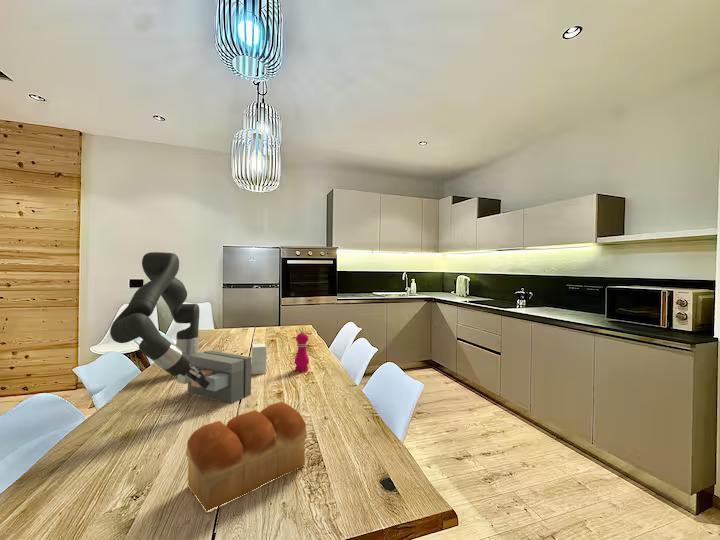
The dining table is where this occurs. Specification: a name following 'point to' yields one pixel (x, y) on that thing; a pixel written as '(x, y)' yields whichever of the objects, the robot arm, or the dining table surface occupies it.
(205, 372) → the terracotta key
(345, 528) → the dining table surface
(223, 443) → the bread
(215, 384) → the grey rectangular block
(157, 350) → the robot arm
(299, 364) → the pepper mill
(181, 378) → the sage key
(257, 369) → the small box
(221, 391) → the keypad console
